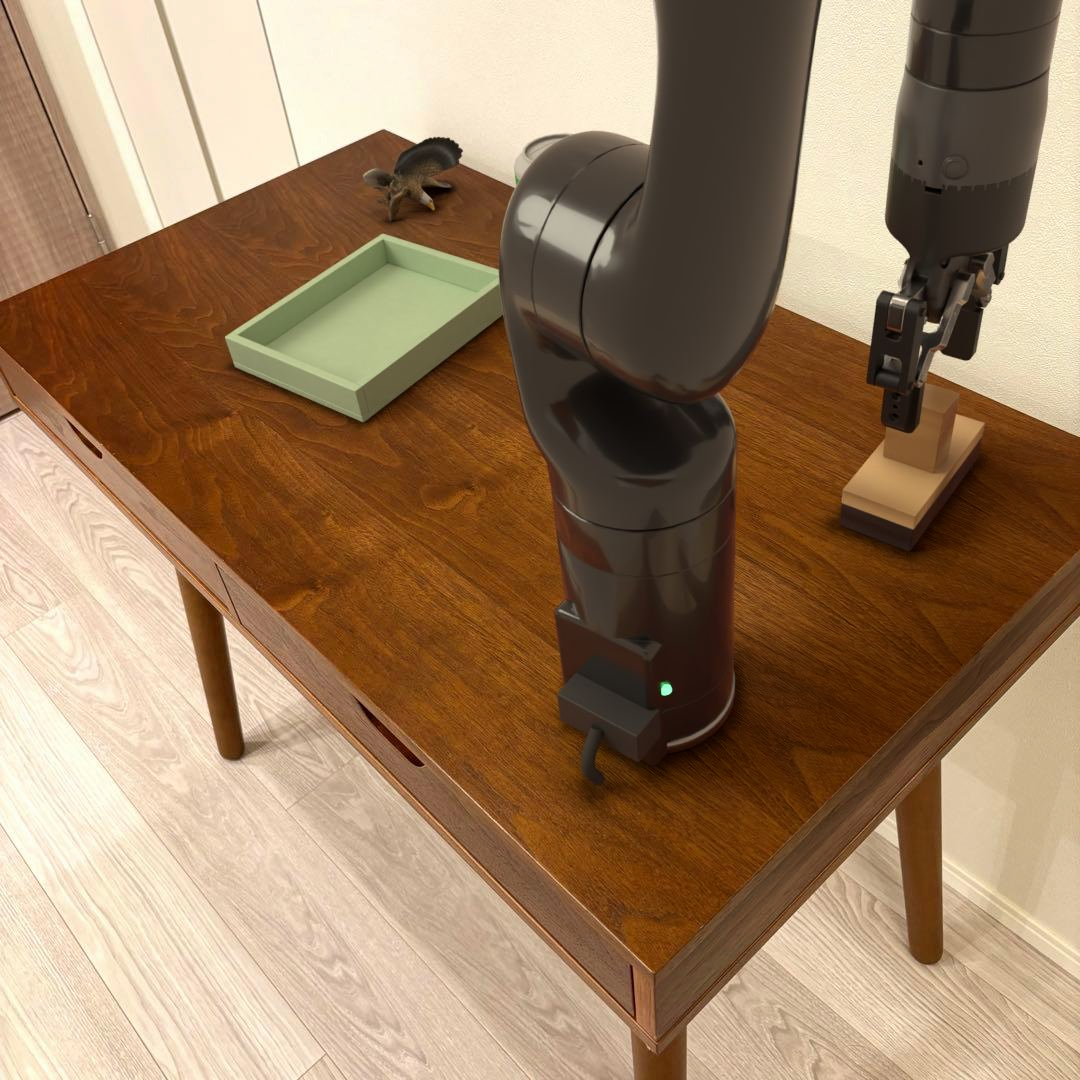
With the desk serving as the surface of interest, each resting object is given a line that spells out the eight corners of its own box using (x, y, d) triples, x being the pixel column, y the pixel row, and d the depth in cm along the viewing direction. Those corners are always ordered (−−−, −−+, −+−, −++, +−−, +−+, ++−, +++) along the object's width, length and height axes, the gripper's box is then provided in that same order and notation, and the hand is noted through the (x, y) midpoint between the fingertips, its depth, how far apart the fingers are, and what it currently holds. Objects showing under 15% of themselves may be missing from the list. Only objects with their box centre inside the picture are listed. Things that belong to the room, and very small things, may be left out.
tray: (363, 422, 90) (355, 391, 88) (234, 367, 98) (224, 336, 96) (516, 304, 101) (512, 273, 99) (389, 262, 109) (382, 233, 107)
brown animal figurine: (433, 221, 111) (481, 166, 115) (382, 163, 108) (434, 108, 112) (394, 244, 117) (441, 190, 121) (345, 189, 114) (395, 136, 118)
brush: (909, 552, 74) (925, 454, 68) (838, 525, 77) (848, 428, 71) (978, 459, 80) (998, 361, 74) (910, 436, 82) (924, 340, 77)
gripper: (952, 84, 67) (920, 319, 78) (838, 191, 60) (821, 433, 71) (1083, 105, 63) (1030, 349, 74) (979, 222, 56) (937, 473, 67)
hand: (928, 390), depth 73 cm, fingers open, 8 cm apart
